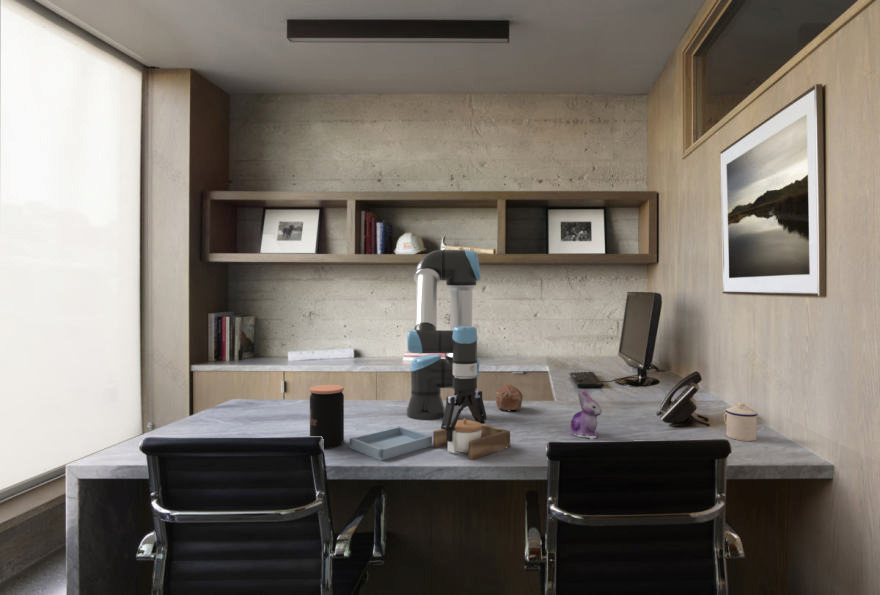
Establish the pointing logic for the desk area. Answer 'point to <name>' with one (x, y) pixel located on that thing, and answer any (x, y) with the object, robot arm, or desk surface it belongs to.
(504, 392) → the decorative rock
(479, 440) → the dock
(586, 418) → the figurine
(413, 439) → the tray
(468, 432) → the lidded jar
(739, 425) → the teacup with lid
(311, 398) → the coffee jar
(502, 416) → the desk surface
